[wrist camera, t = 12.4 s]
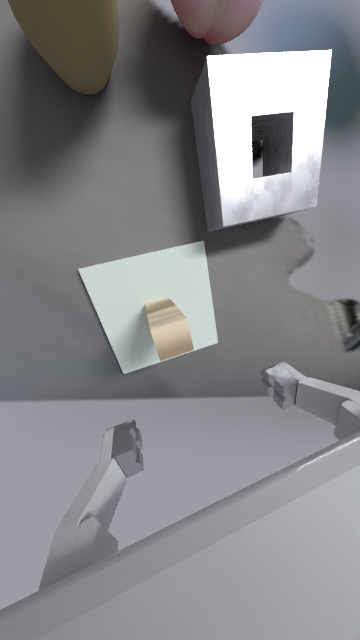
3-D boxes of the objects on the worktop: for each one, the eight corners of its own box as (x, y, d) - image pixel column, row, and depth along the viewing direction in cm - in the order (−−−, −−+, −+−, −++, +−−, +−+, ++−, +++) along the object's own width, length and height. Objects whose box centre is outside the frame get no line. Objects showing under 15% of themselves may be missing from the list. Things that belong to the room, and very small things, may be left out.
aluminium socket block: (190, 102, 20) (207, 55, 15) (290, 93, 22) (331, 50, 17) (207, 232, 25) (223, 226, 21) (286, 214, 27) (316, 206, 23)
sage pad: (79, 268, 23) (77, 269, 22) (202, 240, 26) (203, 240, 25) (123, 372, 30) (123, 374, 29) (216, 341, 33) (217, 342, 32)
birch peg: (144, 304, 26) (150, 329, 17) (169, 297, 27) (187, 318, 18) (151, 327, 28) (160, 361, 18) (174, 320, 28) (194, 350, 19)
